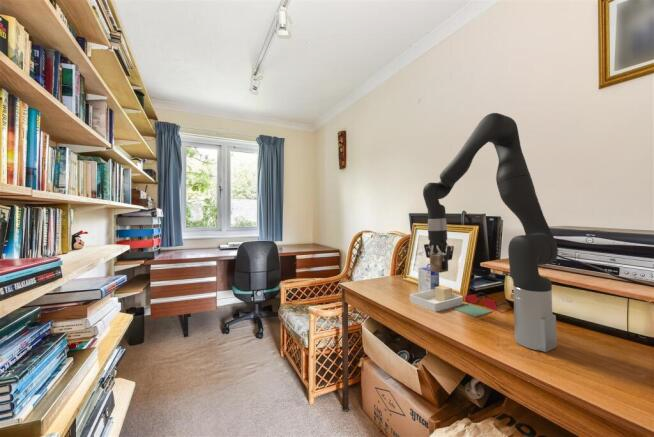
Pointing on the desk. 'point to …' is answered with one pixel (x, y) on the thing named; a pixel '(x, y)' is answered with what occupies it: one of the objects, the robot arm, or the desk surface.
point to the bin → (429, 301)
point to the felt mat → (472, 310)
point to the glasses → (486, 302)
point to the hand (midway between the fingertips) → (439, 268)
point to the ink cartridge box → (427, 279)
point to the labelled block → (436, 263)
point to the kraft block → (443, 293)
